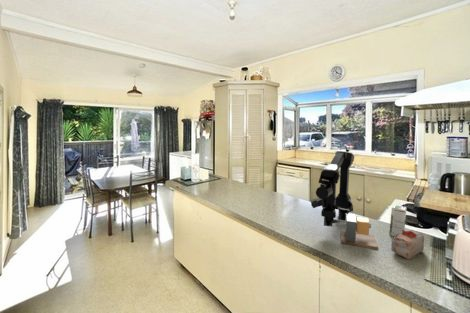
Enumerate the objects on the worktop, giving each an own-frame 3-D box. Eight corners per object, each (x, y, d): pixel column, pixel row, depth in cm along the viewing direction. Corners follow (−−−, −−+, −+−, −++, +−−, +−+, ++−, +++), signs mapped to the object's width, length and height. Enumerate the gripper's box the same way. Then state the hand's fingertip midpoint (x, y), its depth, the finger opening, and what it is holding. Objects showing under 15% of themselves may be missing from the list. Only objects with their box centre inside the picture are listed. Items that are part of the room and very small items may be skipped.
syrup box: (390, 231, 124) (392, 204, 122) (404, 234, 120) (406, 206, 118) (389, 235, 119) (391, 207, 118) (403, 238, 116) (405, 210, 114)
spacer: (355, 228, 117) (356, 216, 117) (367, 229, 116) (367, 218, 115) (356, 233, 112) (357, 221, 111) (368, 235, 110) (369, 222, 109)
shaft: (324, 222, 122) (324, 214, 121) (369, 228, 114) (370, 220, 114) (323, 225, 118) (324, 217, 118) (371, 231, 110) (371, 223, 110)
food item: (410, 262, 96) (412, 239, 95) (389, 253, 103) (390, 231, 102) (425, 252, 103) (427, 230, 102) (404, 244, 110) (406, 224, 109)
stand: (340, 232, 123) (341, 212, 122) (373, 237, 118) (375, 216, 116) (341, 243, 112) (342, 221, 111) (378, 249, 107) (379, 225, 105)
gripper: (313, 188, 129) (312, 215, 131) (310, 197, 112) (309, 229, 114) (335, 189, 125) (334, 218, 127) (336, 200, 108) (335, 233, 110)
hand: (328, 224), depth 119 cm, fingers closed on shaft, 4 cm apart
